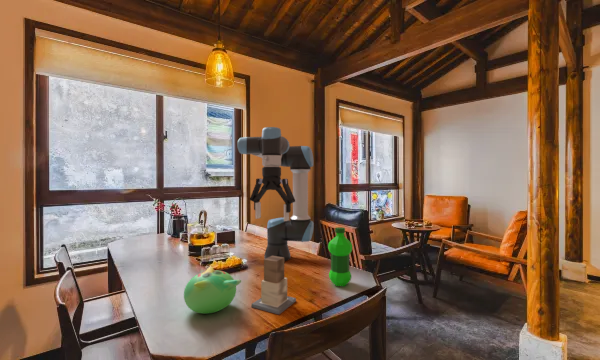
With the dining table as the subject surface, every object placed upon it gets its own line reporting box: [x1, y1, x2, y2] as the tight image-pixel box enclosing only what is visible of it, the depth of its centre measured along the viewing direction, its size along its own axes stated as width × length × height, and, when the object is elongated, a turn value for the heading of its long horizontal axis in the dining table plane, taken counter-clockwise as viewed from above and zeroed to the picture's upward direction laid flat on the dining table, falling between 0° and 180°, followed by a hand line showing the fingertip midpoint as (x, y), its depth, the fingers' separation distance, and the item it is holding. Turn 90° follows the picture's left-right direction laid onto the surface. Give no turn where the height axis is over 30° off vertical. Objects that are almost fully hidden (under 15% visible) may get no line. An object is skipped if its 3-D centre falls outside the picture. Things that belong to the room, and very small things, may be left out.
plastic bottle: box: [327, 226, 353, 287], centre depth 127 cm, size 10×10×25 cm
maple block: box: [260, 277, 288, 306], centre depth 108 cm, size 7×7×8 cm
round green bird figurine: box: [183, 266, 242, 315], centre depth 103 cm, size 18×17×15 cm
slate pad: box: [251, 295, 297, 315], centre depth 108 cm, size 12×12×1 cm
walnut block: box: [263, 256, 285, 283], centre depth 107 cm, size 6×6×8 cm
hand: (271, 219), depth 115 cm, fingers open, 13 cm apart
